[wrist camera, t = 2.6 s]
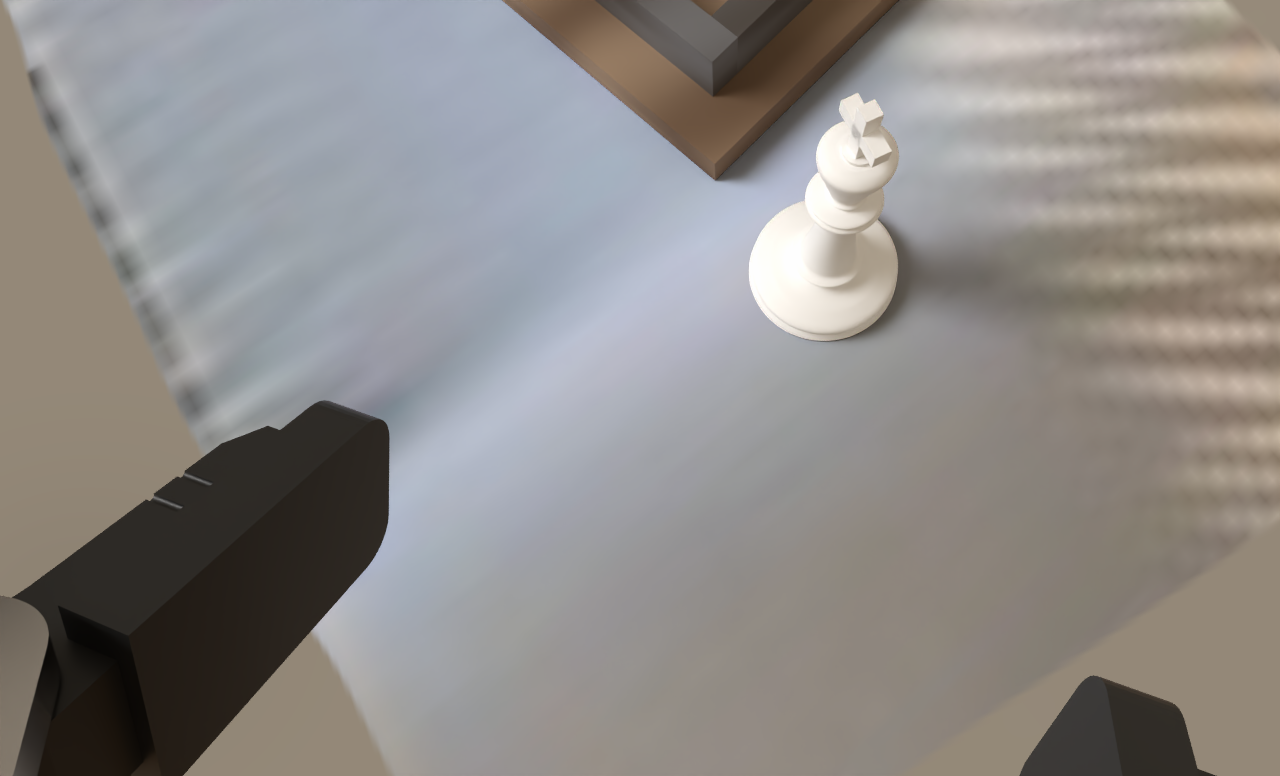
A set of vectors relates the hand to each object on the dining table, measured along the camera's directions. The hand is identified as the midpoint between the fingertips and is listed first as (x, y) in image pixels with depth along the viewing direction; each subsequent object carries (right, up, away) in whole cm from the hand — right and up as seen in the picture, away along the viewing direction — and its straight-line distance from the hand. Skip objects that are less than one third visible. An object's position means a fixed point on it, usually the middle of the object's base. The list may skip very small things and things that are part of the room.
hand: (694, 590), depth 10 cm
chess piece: (+6, +6, +20) cm, 21 cm away
